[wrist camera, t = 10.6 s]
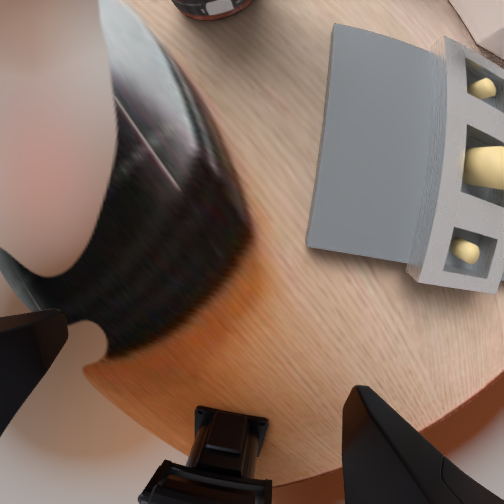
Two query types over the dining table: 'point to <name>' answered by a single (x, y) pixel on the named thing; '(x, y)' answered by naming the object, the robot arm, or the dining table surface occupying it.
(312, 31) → the dining table surface
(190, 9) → the supplement bottle
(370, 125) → the post base
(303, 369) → the dining table surface
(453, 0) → the jar
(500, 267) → the white slotted frame
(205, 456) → the robot arm
